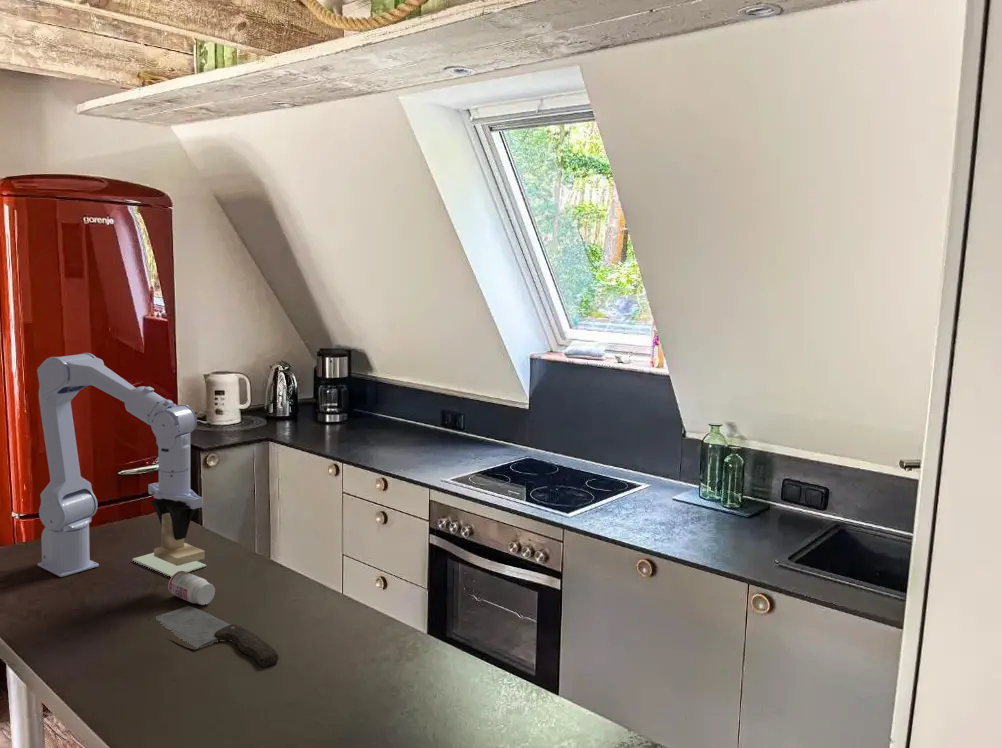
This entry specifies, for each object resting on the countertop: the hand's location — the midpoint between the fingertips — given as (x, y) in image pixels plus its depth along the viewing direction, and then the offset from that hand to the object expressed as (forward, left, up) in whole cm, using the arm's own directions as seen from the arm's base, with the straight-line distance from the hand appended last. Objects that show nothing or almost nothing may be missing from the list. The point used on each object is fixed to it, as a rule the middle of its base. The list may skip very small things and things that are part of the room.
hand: (174, 536), depth 160 cm
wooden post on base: (+2, 0, -4) cm, 4 cm away
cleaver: (+24, -9, -11) cm, 28 cm away
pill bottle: (+3, -2, -8) cm, 9 cm away
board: (-11, +6, -10) cm, 16 cm away
